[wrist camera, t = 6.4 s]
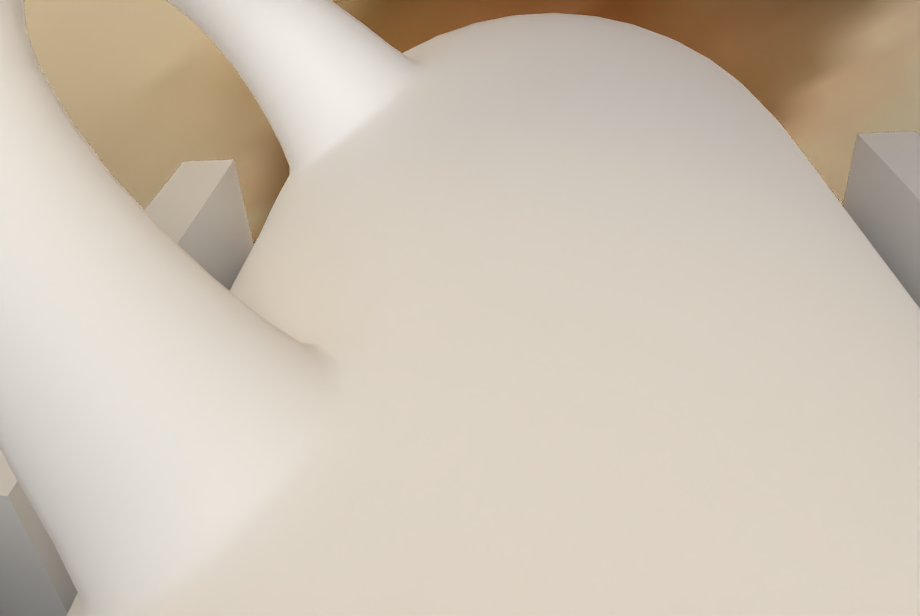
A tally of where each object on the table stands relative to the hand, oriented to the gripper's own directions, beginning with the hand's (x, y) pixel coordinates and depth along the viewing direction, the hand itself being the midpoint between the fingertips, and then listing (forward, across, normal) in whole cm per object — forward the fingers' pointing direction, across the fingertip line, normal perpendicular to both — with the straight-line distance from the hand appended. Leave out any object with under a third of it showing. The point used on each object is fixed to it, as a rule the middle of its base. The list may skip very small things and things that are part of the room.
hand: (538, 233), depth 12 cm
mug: (+2, -1, 0) cm, 2 cm away
